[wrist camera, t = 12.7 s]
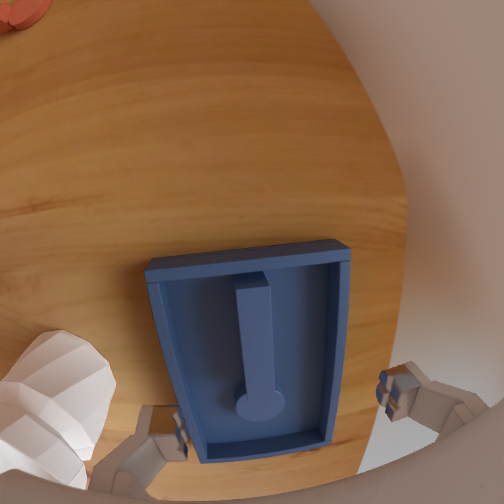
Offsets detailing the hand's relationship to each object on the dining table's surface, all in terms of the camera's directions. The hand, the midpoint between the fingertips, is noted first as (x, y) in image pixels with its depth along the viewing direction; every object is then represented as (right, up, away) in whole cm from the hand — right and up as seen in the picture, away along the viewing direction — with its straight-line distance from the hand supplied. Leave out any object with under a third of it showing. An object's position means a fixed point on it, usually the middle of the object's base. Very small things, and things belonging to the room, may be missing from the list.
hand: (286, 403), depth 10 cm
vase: (-17, -5, +10) cm, 20 cm away
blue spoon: (-1, -2, +11) cm, 11 cm away
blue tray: (-1, -3, +12) cm, 12 cm away
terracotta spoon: (-24, +26, +1) cm, 36 cm away
